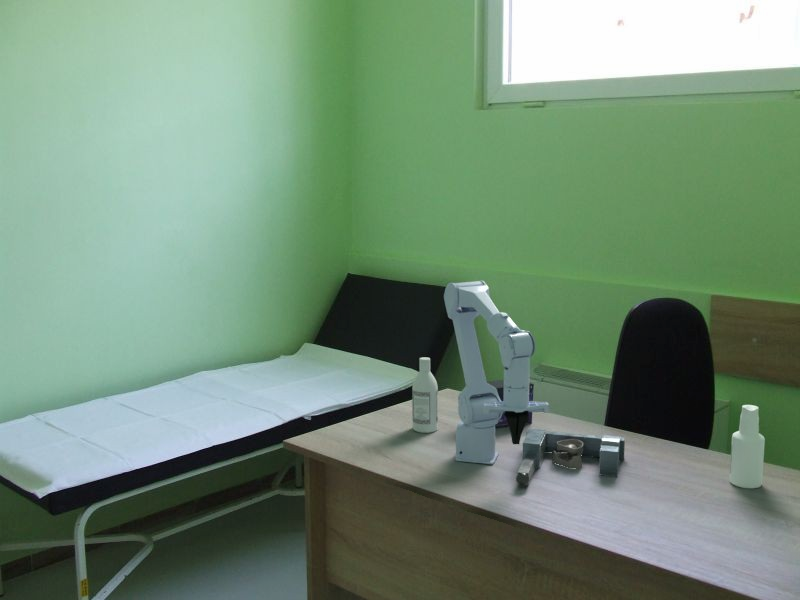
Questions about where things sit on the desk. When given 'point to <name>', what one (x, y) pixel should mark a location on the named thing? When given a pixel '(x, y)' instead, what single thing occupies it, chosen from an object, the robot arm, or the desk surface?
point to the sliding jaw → (531, 455)
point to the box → (500, 389)
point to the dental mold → (569, 453)
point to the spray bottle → (747, 450)
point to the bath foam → (425, 399)
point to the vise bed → (592, 448)
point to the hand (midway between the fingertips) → (515, 442)
